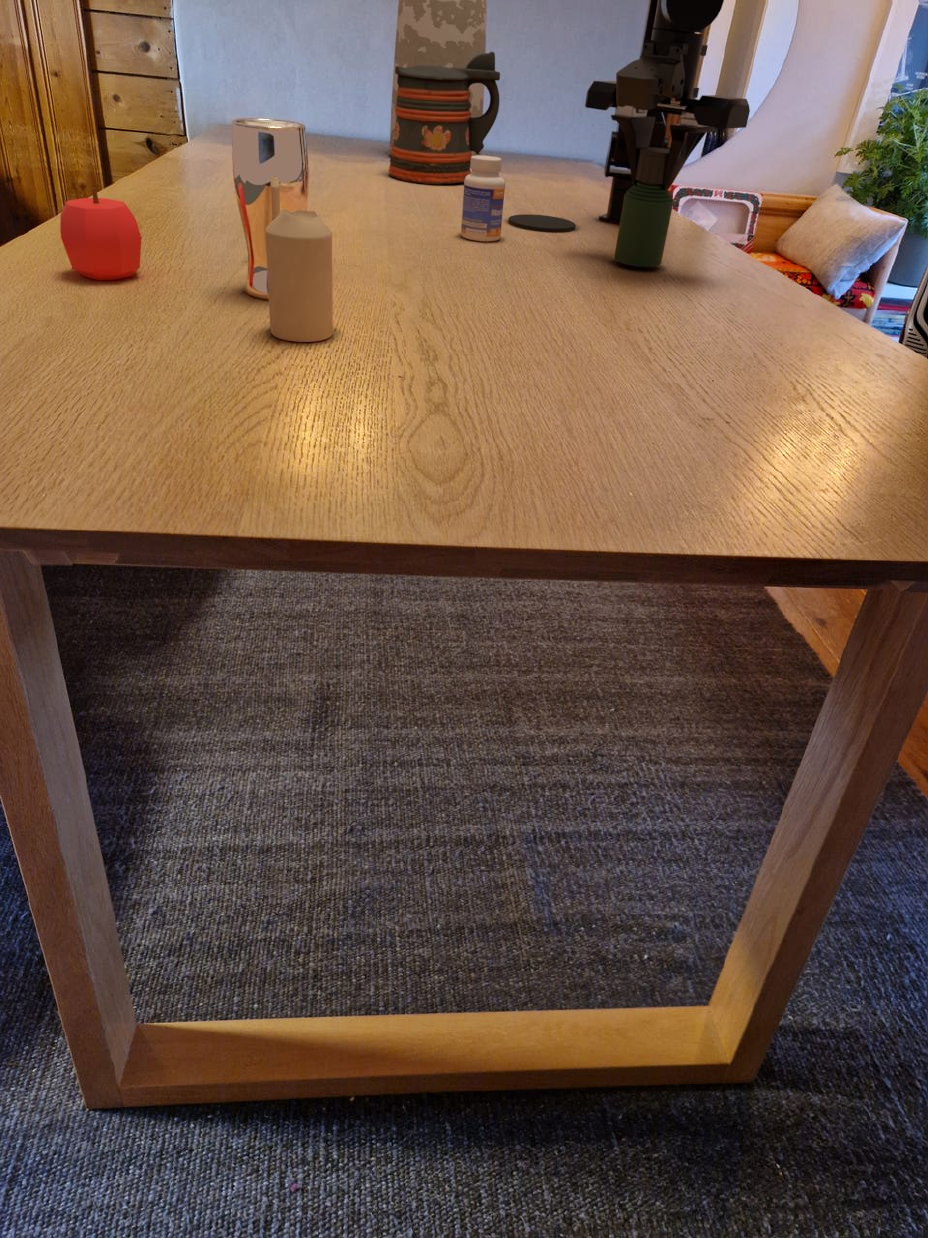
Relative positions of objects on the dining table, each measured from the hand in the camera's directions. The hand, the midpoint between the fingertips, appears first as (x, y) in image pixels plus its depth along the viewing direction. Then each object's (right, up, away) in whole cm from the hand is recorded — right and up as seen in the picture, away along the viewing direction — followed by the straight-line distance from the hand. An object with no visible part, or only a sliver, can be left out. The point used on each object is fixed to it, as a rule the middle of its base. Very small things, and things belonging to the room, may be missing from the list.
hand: (650, 186), depth 105 cm
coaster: (-11, +6, +23) cm, 27 cm away
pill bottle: (-20, -1, +12) cm, 24 cm away
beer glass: (-42, -20, -17) cm, 49 cm away
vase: (-29, +42, +74) cm, 90 cm away
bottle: (-1, -7, +5) cm, 9 cm away
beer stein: (-27, +27, +52) cm, 65 cm away
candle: (-37, -27, -28) cm, 54 cm away
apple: (-59, -18, -17) cm, 64 cm away
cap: (0, 0, 0) cm, 1 cm away
